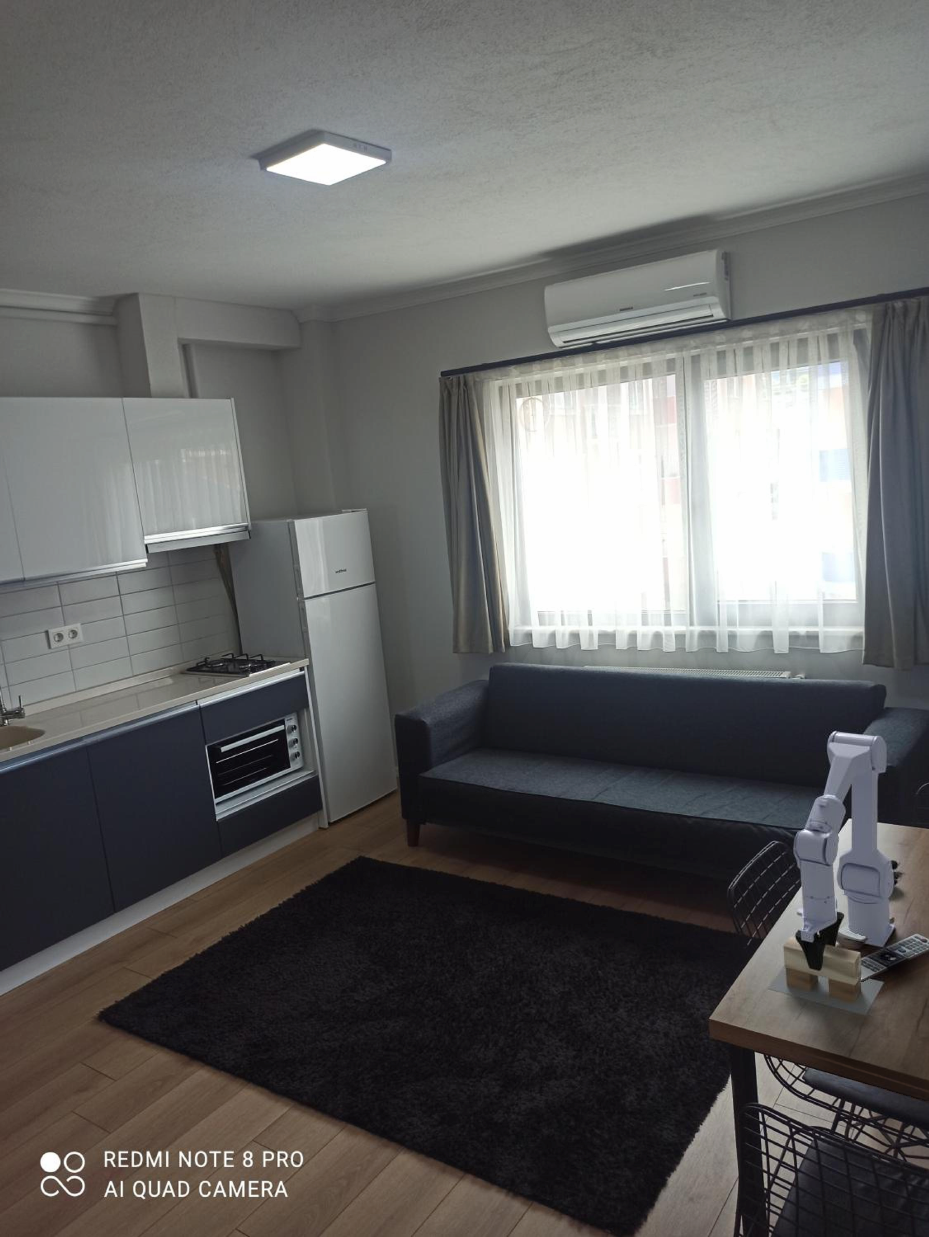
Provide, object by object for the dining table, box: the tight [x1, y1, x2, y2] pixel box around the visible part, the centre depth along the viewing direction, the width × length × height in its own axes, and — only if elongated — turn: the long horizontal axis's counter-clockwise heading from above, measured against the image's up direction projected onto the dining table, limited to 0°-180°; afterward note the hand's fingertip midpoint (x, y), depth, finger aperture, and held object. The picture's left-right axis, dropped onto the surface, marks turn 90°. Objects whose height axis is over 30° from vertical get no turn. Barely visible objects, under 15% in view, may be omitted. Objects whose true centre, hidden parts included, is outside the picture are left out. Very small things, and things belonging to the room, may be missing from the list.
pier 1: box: [786, 968, 818, 991], centre depth 177 cm, size 4×4×4 cm
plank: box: [782, 936, 863, 985], centre depth 174 cm, size 4×13×4 cm, turn 51°
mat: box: [767, 965, 885, 1016], centre depth 176 cm, size 12×18×1 cm, turn 51°
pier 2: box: [828, 975, 862, 1003], centre depth 172 cm, size 4×4×4 cm
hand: (821, 959), depth 174 cm, fingers open, 7 cm apart
